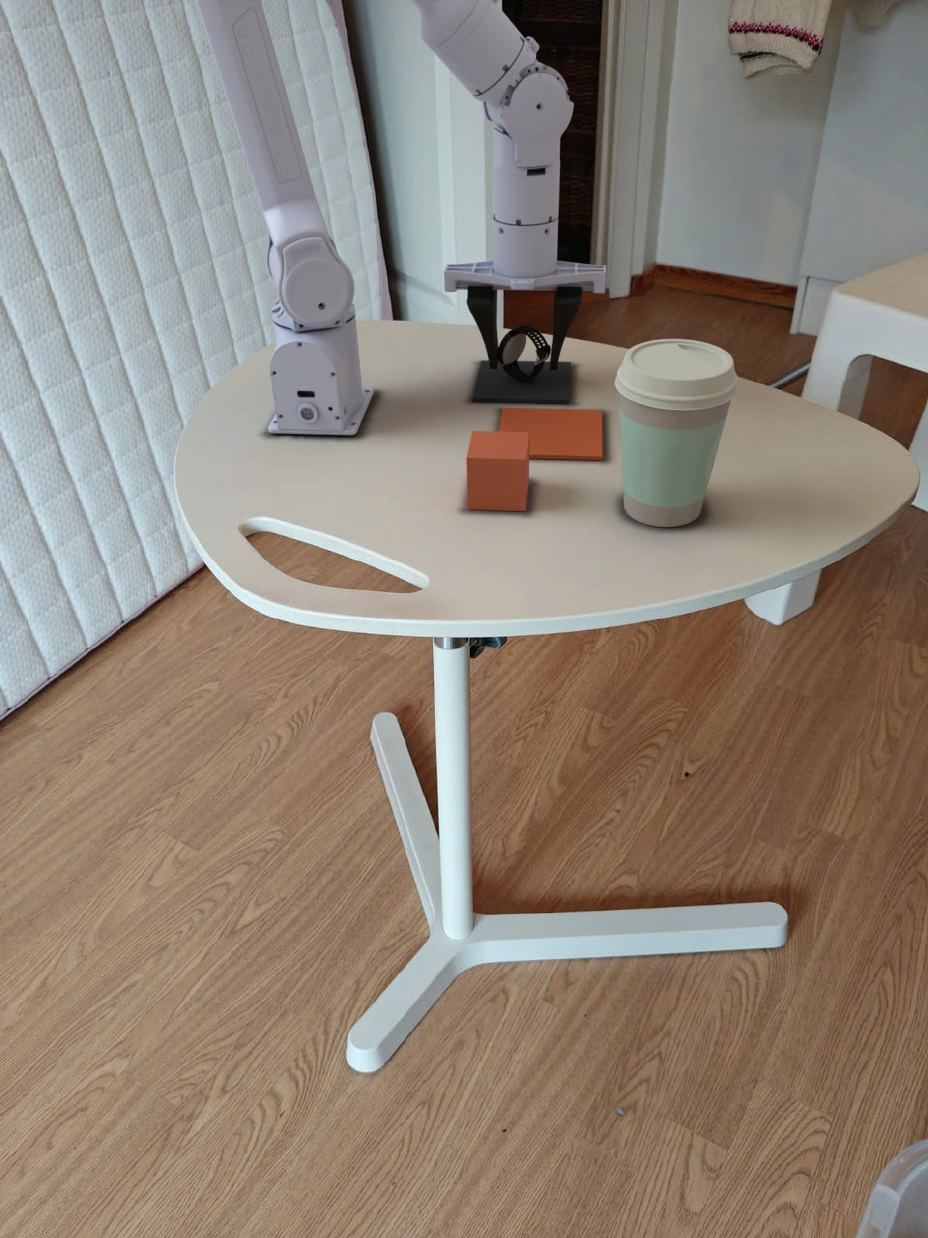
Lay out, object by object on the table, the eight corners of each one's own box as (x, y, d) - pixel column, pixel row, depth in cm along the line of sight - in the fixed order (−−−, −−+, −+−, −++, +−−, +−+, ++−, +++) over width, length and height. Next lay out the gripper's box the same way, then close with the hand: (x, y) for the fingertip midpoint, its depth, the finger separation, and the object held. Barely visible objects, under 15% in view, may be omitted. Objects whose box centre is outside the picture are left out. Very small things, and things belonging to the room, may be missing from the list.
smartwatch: (527, 366, 97) (528, 316, 94) (553, 385, 93) (555, 333, 90) (490, 374, 95) (490, 324, 92) (515, 393, 92) (515, 342, 89)
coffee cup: (724, 539, 71) (749, 384, 64) (606, 535, 72) (618, 382, 65) (713, 482, 78) (734, 336, 71) (605, 479, 79) (615, 334, 72)
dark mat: (569, 403, 91) (569, 399, 90) (472, 401, 92) (472, 397, 91) (570, 365, 98) (571, 361, 98) (481, 363, 99) (481, 360, 98)
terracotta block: (525, 511, 75) (526, 459, 73) (467, 509, 76) (466, 457, 73) (528, 482, 79) (529, 431, 76) (473, 481, 79) (472, 430, 77)
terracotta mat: (602, 460, 82) (602, 456, 81) (494, 457, 82) (494, 453, 82) (601, 413, 89) (602, 409, 89) (502, 411, 90) (502, 407, 89)
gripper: (437, 229, 83) (443, 380, 91) (609, 229, 82) (600, 383, 90) (447, 207, 89) (452, 351, 97) (608, 207, 87) (600, 354, 95)
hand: (523, 365), depth 94 cm, fingers closed on smartwatch, 5 cm apart
